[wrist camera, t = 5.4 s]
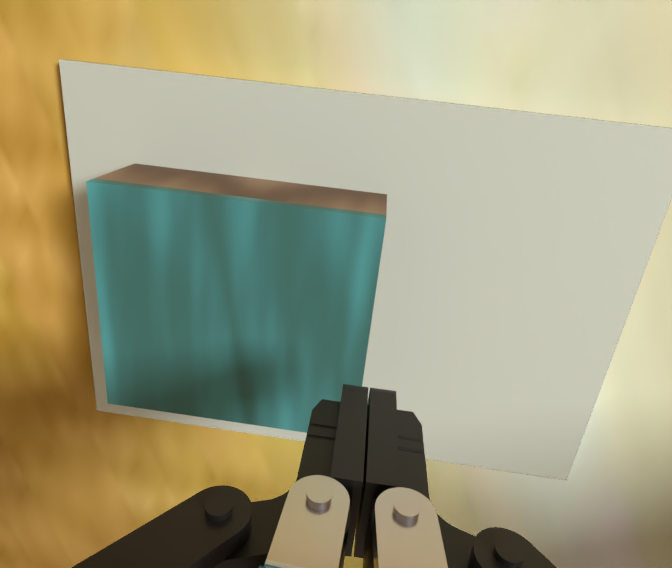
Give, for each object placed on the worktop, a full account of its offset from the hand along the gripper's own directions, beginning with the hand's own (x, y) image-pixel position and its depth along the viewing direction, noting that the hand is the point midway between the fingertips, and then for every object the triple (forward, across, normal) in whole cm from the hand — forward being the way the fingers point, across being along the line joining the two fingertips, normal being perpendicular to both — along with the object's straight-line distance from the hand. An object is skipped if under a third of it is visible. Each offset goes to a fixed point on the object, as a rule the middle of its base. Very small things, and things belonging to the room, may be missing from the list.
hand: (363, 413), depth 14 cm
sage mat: (+8, +1, 0) cm, 8 cm away
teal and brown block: (+6, 0, 0) cm, 6 cm away
